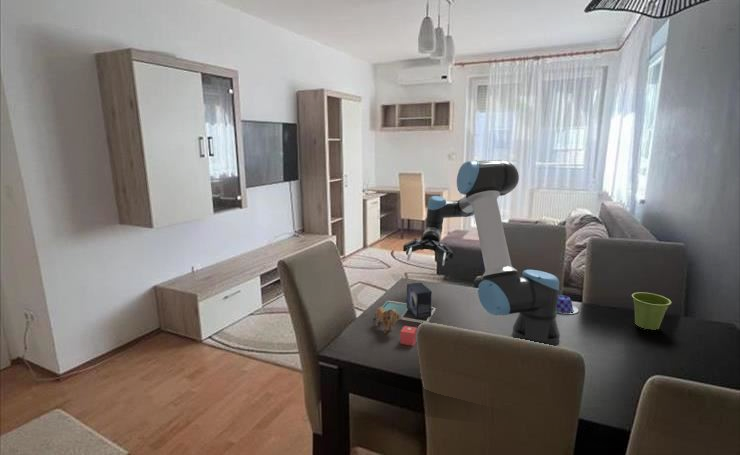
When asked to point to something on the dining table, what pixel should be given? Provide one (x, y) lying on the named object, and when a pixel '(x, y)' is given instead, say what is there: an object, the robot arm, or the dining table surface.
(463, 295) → the dining table surface
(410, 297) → the small box
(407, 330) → the red block
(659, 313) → the plant pot
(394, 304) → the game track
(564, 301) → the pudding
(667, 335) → the dining table surface
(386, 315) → the lion figurine
